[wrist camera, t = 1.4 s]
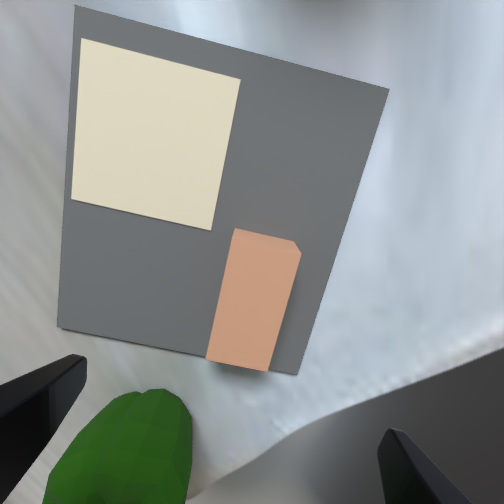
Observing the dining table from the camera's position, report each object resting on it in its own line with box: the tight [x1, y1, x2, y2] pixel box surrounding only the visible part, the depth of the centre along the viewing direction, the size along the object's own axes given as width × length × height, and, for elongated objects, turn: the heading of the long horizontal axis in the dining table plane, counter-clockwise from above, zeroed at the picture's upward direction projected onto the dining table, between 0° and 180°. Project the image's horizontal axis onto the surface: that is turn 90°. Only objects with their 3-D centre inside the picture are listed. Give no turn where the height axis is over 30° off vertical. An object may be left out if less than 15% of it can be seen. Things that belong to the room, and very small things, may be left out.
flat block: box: [205, 228, 301, 372], centre depth 18 cm, size 8×4×3 cm, turn 167°
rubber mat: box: [57, 5, 390, 375], centre depth 19 cm, size 20×18×1 cm
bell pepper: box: [42, 389, 192, 504], centre depth 18 cm, size 8×8×10 cm
